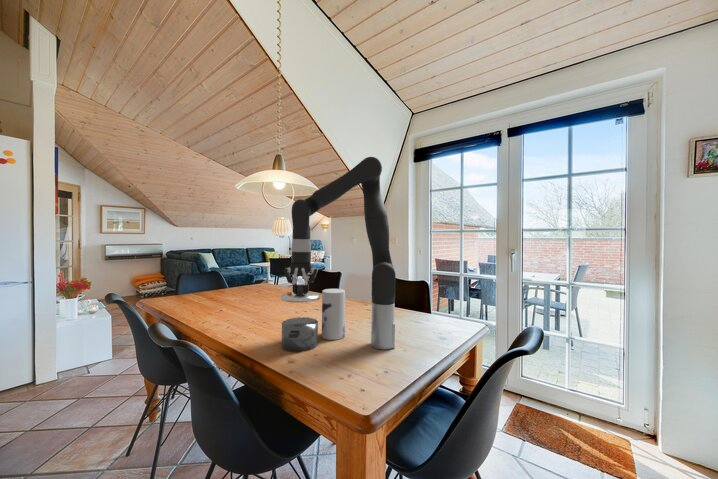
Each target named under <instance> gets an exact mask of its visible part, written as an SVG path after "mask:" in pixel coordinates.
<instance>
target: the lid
mask: <svg viewBox="0 0 718 479" xmlns="http://www.w3.org/2000/svg"><path fill="white" fill-rule="evenodd" d="M304 287H305V283H304V284H301V283H300V284H298V283H297V285H296V294H294V293H293V291H288V292H285V293H283V294H281V296H280V300H281V301H283V302H286V303H310V302H315V301H318V300H319V299H320V293H318V292H313V291H309V292H308V293H307V294H304Z"/></svg>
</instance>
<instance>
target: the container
mask: <svg viewBox="0 0 718 479" xmlns="http://www.w3.org/2000/svg"><path fill="white" fill-rule="evenodd" d="M321 291H322V292H321V294H322V295H321V296H322V297H321V299H322V300H321V306H322V307H321V338H322V339H324V340H330V341H336V340H337V341H338V340H341V339H343V338H344V337H345V335H346V334H345V332H346V331H345V330H346V329H345V328H346V290H345V289H341V288H325V289H323V290H321Z"/></svg>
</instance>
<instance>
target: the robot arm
mask: <svg viewBox="0 0 718 479" xmlns="http://www.w3.org/2000/svg"><path fill="white" fill-rule="evenodd" d="M382 171H383V165H382V162H381V160H380V159H378V158H377V157H374V156H368V157H364V158H363V159H362V160H360V162H358V164H356V165H355V166H353V168H352V169H350V170H349V171H347V172H345V173H344V174H343V175H341V176H340V177H338V178H336V179H334V180H332V181H331V182H329V183H327V184H325V185H324V186H322V187H320V188H319V189H318V190H317V189H316V190H315V191H314V192H313V193H312V194H311V195H310V196H308V197H307V198H305V199H296V200H295V201H293V203H292V205H291V222H292V240H291V241H292V242H291V248H290V249H291V261H290V262H291V264H290V266H289V267H285V268H283V273H284V275H285V278H286V281H287V283H288V284H291V286H292V289H291V290H292V291H291V292H293V293H294V294H296V285H298V283H297V282H298V279H299V277H302V278H303V281H304V285H305V287H304V294H307V293H308V292H310V284H313V283H314V281H315V279H316V277H317V274H318V271H319V269H318V268H315V267H314V266H312V263H311V262H312V261H311V259H312V258H311V256H312V243H311V225H310V217H311V216H312V215H314V214H315V213H317V212H318V211H319V210H321V209H322V208H324V207H326V206H329V204H332V203H334V202H336V201H337V200H338V199H340V198H341V197H342V196H343V195H345V194H346V193H348V192H349V191H350V190H352V189H353V188H355V187H356V186H358V185H360V184H361V189H362V196H363V214H364V222H365V230H366V234H367V238H368V243H369V245H370V249H371V250H370V251H371V256H372V271H371V318H370V320H371V321H370V322H371V325H370V326H371V328H370V329H371V331H370V345H371V347H373V348H374V349H376V350H390V349H395V347H396V346H395V344H396V343H395V341H396V339H395V338H396V324H395V323H396V322H395V314H396V312H395V307H396V306H395V305H396V304H395V303H396V302H395V301H396V278H397V277H396V271H395V268H394V266H393V260H392V257H391V252H390V226H389V217H388V213H387V208H386V206H385V202H384V200H383V197H382V193H381V176H382V175H381V174H382ZM291 272H292V274H293V277H292V276H291ZM310 272H311V277H310V279H309V273H310Z"/></svg>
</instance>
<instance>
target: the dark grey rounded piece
mask: <svg viewBox="0 0 718 479" xmlns="http://www.w3.org/2000/svg"><path fill="white" fill-rule="evenodd" d="M318 323H319V322H318V320H317V319H315V318H312V317H307V316H306V317H305V316H304V317H292V318H288V319H285V320H283V321H282V322H281V348H282V350H284V351H286V352H291V353H304V352H308V351H311V350H314V349H315V348H316V347H318V340H319V339H318V338H319V336H318V334H319V333H318V331H319V329H318V328H319V324H318Z"/></svg>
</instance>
